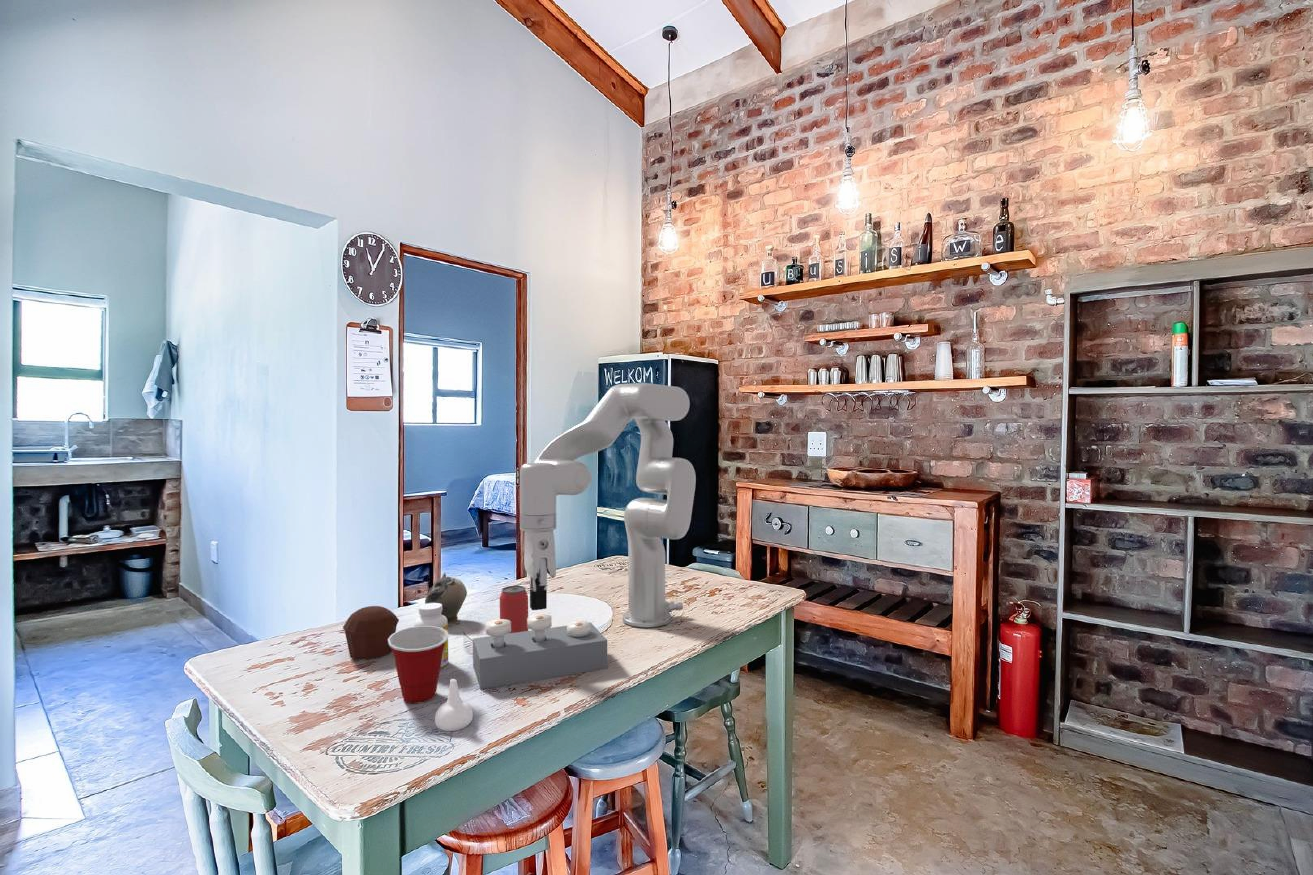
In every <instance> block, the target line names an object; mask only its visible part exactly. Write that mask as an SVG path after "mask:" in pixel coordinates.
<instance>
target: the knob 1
mask: <svg viewBox="0 0 1313 875" xmlns="http://www.w3.org/2000/svg"><path fill="white" fill-rule="evenodd" d="M510 632H511V621H510V620H506V619H500V618H497V619H491V620H489V621H487V622H485V634H486V635H487V636H493V649H494V648H501V647H504V635H506V634H508V633H510Z"/></svg>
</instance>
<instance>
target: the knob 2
mask: <svg viewBox="0 0 1313 875" xmlns="http://www.w3.org/2000/svg"><path fill="white" fill-rule="evenodd" d="M566 626H567V634H568V635H569V636H572V637H582V636H586V635H589V634H590V622H589V621H587V620H574V621H570V622H568V623H567V624H566Z"/></svg>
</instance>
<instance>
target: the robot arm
mask: <svg viewBox="0 0 1313 875" xmlns="http://www.w3.org/2000/svg"><path fill="white" fill-rule="evenodd" d="M690 405H691V404H690V397H689V395H688V394H687V392H686V391H685V389H683V388H681V387H679V386H673V385H663V384H656V383H651V382H650V383H649V382H638V383H637V382H635V383H634V382H632V383H619V384H615V385H613V386H612V387H610V388H609V389H608V390H607V392H606V393H605V394H604V396H602V398H601V399H600V400H599V402H598V403H597V404H596V405H595V406H594V408H593V409H592V411H591V412H590V413H589V414H588V415H587V417H586V418H585V419H584V420H583V421H582V422H580V423H579V424H576V425H575V426H573V427H572V428H571V429H568V430H567V431H565V432H564V433H562V434H560V435H559V436H558V437H556V438H554V439H553V440H551V442H550V443H549V444H548V445H547V446H546V447H545V448H544V449H543V450H542V451H541V453H540V454H539V455H538V456H537V458H536V459H535V461H534V462H527V463H524V464H522V465H521V466H520V470H519V530H520V531H524V540H523V541H524V543H523V544H524V545H523V546H524V547H523V560H524V561H523V562H524V563H523V564H524V570H525V572H526V573H527V574H528V575H529V587H530V589H529V607H530V608H529V609H531V611H539V610H546V609H547V601H548V597H547V593H548V592H547V586H548V585H547V584H548V575H549V577H550V578H552V579H555V577H556V576H557V566H556V565H557V564H556V544H555V534H554V530H556V529H557V496H577V495H580V494H582V493H584V492H585V491H587V489H589V486H590V485H591V481H592V472H591V470H590V469H589V467H588V466H587V465H586V464H585V463H582V461H578V460H577V459H579V458H581V457H584V456H587V455H590V454H593V453H597V452H600V451H603V450H605V449H607V448H609V447H611V446H612V445H613V444H614V443H615V441H616V440H617V438H618V437H619V436H620V434H621V433H622V432H623V430H624V429H625V428H626V427H627V425H628V424H629V422H630V421H632V420H633V419H634V421H635V422H636V423H635V424H636V425H637V427H638V429H639V431H640V448H639V455H638V462H637V467H636V473H635V474H636V477H635V480H636V482H635V483H636V486H637V487H638V489H639V490H640V491H643V492H646V493H650V494H659V495H666V496H667V497H666V498H667V499H660V498H652V497H637V498H635V499H632V500H631V501H630V502H628V504H627V505H626V507H625V510H624V514H623V515H624V516H623V520H624V525H625V531H626V536H627V537H626V538H627V551H628V552H627V553H628V555H627V556H628V560H627V561H628V563H627V564H628V610H627V611H626V612H624V613H623V614H622V621H623V623H625V624H627V625H629V626H631V627H636V628H637V627H638V628H656V627H661V626H664V625H667V624H669V623H670V622H671V621H672V614H671V613H672V612H673V611H681V610H683V609H684V605H683V602H674V601H673V600H672V601H667V600H666V550H665V546H664V544H663V541H662V539H668V540H680V539H682V538H684V537H685V536H686V534H687V532H688V531H689V529H690V525H691V521H692V513H693V506H694V500H695V498H694V497H695V491H696V481H697V478H696V476H697V475H696V471H695V469H694V468H695V467H694V466H693V464H692V463H691V461H689V460H688V459H686V458H683V457H673V451H674V450H673V449H674V437H673V436H674V435H673V432H672V431H671V429H670V427H669V424H667V422H669V421H671V422H674V421H675V422H676V421H681V420H682V419H684V418H685V417H686V416H687V414H688V413H689V411H690V407H691V406H690ZM666 421H667V422H666ZM661 538H662V539H661Z"/></svg>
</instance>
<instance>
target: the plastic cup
mask: <svg viewBox="0 0 1313 875" xmlns="http://www.w3.org/2000/svg"><path fill="white" fill-rule="evenodd" d="M449 636H450V634H449V631H448V632H447V631H446V630H444V629H443V628H440V627H435V626H416V627H415V626H409V627H405V628H403V629H400V630H396V632H395V633H394V634H392V635H391V636H390V637H389V638H388V643H389V646H390V647H391V649H392V651H391V653H392V656H393V659H394V663H395V669H396V674H397V679H398V683H399V686H400V692H401V697H402V699H403V701H404V702H405V703H407V704H422V703H425V702H428V701H431V700H433V698H435V696H436V693H437V688H438V681H439V678H440V673H441V672H440V671H441V668H440V667H441V661H442V654H443V650H444V646H445V642H446V641H447V639H448V640H449Z"/></svg>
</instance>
